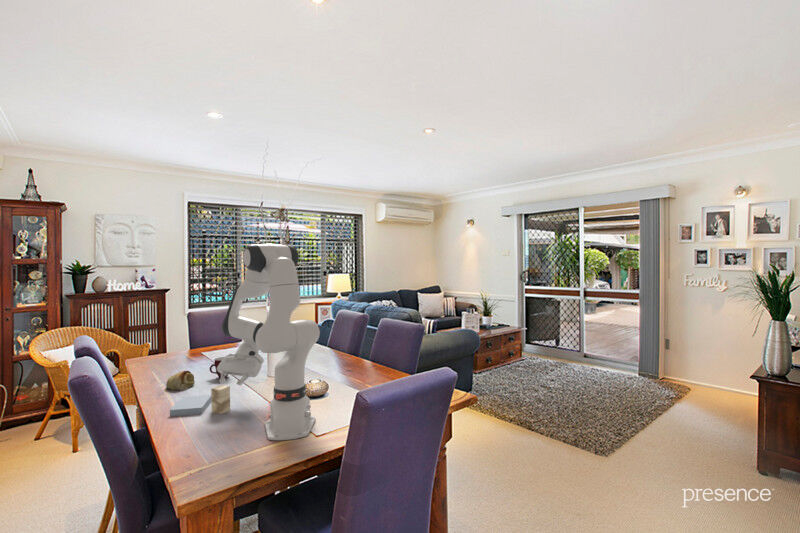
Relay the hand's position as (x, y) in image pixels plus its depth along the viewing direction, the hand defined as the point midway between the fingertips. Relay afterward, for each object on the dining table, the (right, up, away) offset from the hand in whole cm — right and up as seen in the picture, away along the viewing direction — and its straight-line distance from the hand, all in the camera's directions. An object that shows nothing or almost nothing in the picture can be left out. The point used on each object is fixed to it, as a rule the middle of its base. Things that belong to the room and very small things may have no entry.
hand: (229, 383), depth 172 cm
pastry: (-37, -10, +29) cm, 48 cm away
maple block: (-2, -10, -5) cm, 11 cm away
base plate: (-16, -11, -1) cm, 19 cm away
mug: (-23, -9, +43) cm, 50 cm away
